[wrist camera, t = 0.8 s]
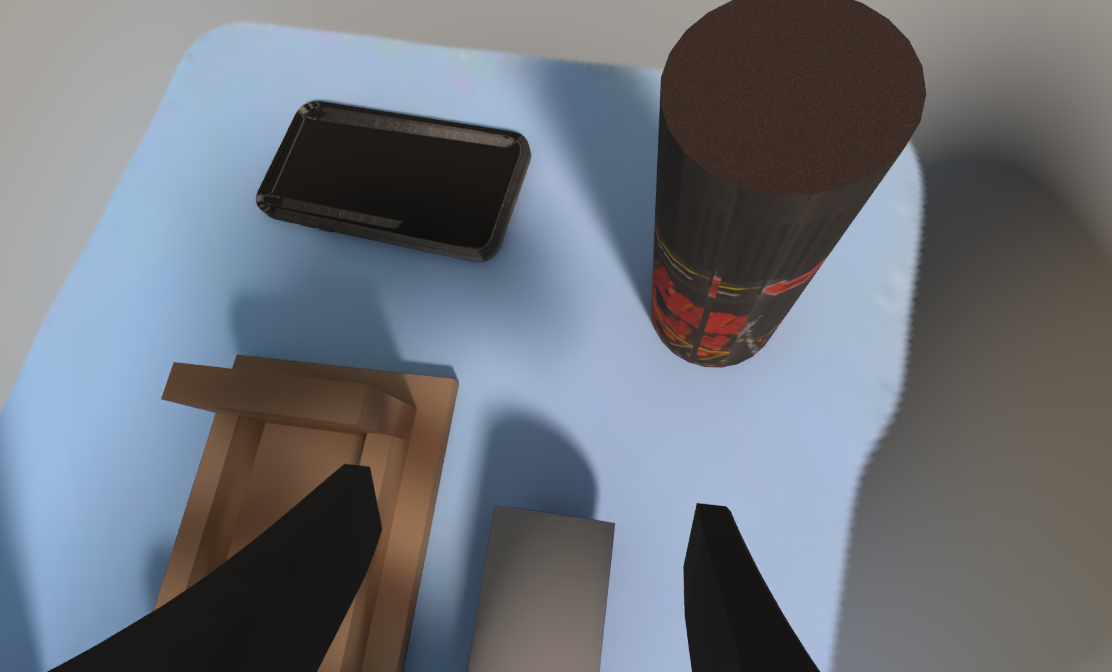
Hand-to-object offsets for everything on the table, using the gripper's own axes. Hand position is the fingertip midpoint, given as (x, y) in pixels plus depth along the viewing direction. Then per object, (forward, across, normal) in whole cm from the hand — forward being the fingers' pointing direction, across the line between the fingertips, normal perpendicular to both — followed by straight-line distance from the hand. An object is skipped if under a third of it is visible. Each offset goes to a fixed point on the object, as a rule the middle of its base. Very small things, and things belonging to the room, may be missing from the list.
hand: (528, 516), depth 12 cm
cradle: (+7, +12, +13) cm, 19 cm away
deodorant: (+17, -6, +3) cm, 18 cm away
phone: (+23, +12, 0) cm, 26 cm away
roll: (+6, 0, +13) cm, 15 cm away
